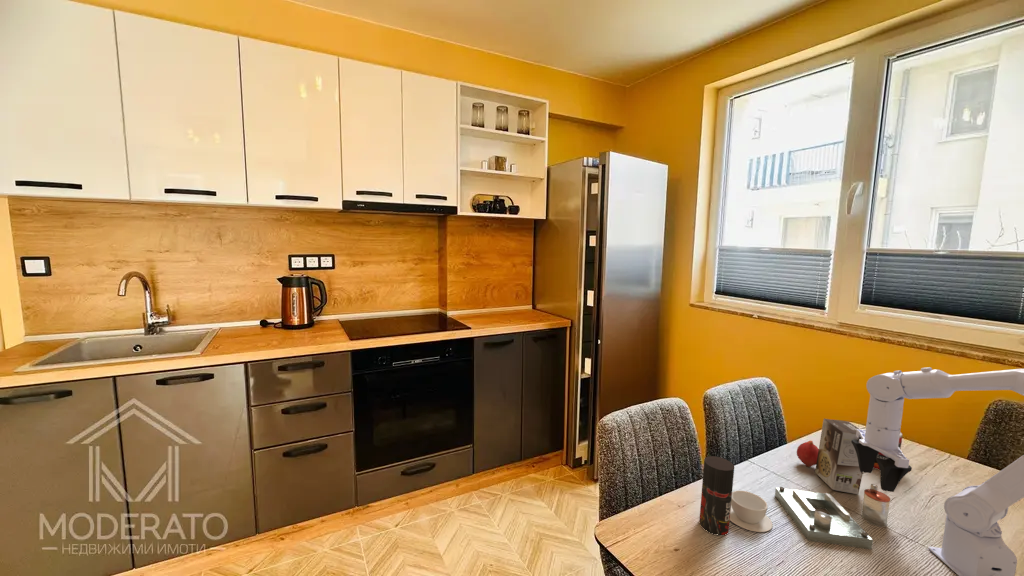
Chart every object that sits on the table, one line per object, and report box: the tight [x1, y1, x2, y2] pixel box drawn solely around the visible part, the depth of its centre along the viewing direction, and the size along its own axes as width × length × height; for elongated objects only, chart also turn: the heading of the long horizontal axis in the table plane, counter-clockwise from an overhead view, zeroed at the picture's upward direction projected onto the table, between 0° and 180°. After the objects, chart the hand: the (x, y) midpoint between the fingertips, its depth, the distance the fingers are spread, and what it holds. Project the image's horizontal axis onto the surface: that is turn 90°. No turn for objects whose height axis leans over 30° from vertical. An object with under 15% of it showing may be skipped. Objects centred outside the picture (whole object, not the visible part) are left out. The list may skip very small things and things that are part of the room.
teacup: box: [730, 490, 774, 533], centre depth 93 cm, size 10×10×5 cm
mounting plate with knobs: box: [774, 486, 874, 550], centre depth 93 cm, size 16×12×4 cm
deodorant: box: [699, 455, 735, 536], centre depth 90 cm, size 6×6×15 cm
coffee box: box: [814, 418, 864, 495], centre depth 108 cm, size 9×6×16 cm
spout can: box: [861, 483, 891, 528], centre depth 94 cm, size 4×4×8 cm
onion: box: [796, 439, 819, 468], centre depth 117 cm, size 6×6×8 cm
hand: (876, 480), depth 94 cm, fingers open, 7 cm apart
